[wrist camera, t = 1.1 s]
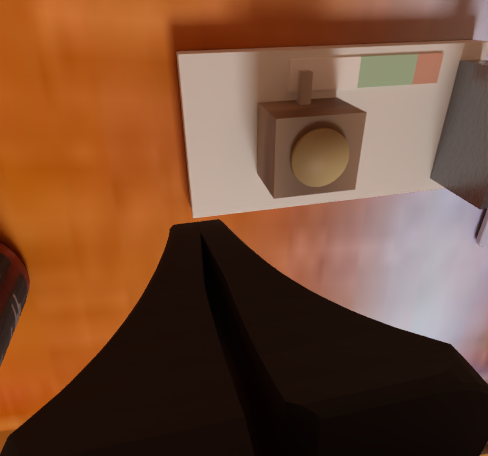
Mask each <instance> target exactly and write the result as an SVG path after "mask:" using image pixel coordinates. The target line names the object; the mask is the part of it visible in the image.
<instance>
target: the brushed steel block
mask: <svg viewBox="0 0 488 456" xmlns="http://www.w3.org/2000/svg"><path fill="white" fill-rule="evenodd" d="M430 179H432V180H433V181H435V182H437V183H438V184H440V185H441V186H443V187H445V188H446V189H448V190H450V191H451V192H453V193H454V194H456V195H458V196H459V197H461V198H462V199H464V200H466V201H467V202H469V203H470V204H472V205H474V206H475V207H477V208H479V209H485V208H488V61H486V60H481V59H479V60H460V62H459V66H458V70H457V74H456V77H455V81H454V85H453V89H452V93H451V97H450V101H449V105H448V109H447V113H446V116H445V120H444V124H443V128H442V132H441V136H440V140H439V144H438V148H437V152H436V155H435V159H434V163H433V167H432V171H431V175H430Z"/></svg>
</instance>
